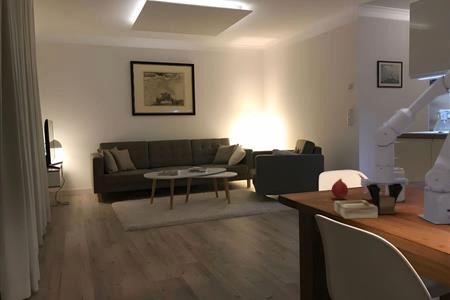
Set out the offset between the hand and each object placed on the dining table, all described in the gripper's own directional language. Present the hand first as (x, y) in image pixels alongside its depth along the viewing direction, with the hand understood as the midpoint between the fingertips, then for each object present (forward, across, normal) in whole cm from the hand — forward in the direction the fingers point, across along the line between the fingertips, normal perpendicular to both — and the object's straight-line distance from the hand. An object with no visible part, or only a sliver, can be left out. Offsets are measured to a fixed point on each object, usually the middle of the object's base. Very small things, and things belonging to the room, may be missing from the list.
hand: (384, 207), depth 119 cm
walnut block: (+1, 0, 0) cm, 1 cm away
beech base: (+2, +10, 0) cm, 10 cm away
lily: (+2, -2, -16) cm, 17 cm away
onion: (+2, +7, -21) cm, 22 cm away
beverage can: (+2, -12, -17) cm, 21 cm away
